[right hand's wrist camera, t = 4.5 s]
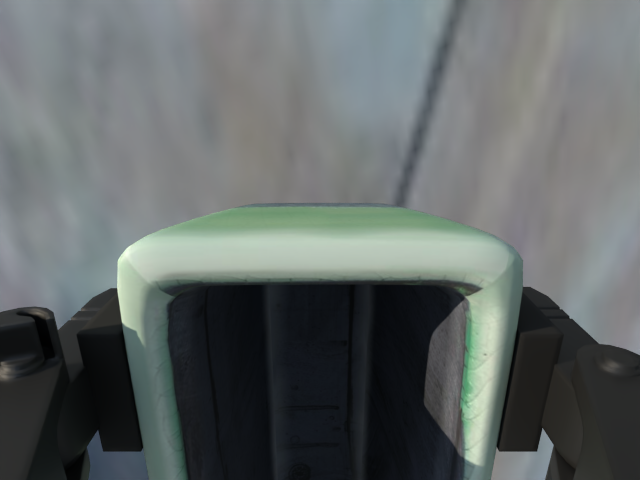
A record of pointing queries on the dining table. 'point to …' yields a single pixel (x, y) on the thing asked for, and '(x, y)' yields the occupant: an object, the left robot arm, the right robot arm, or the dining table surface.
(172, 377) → the planter
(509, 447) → the right robot arm
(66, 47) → the dining table surface
